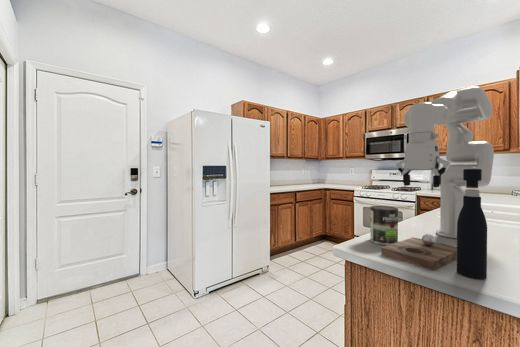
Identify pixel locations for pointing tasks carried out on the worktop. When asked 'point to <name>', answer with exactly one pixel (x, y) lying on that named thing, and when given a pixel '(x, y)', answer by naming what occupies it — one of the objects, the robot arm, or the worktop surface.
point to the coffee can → (384, 225)
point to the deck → (421, 253)
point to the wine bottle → (472, 230)
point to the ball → (428, 239)
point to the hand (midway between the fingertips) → (420, 186)
